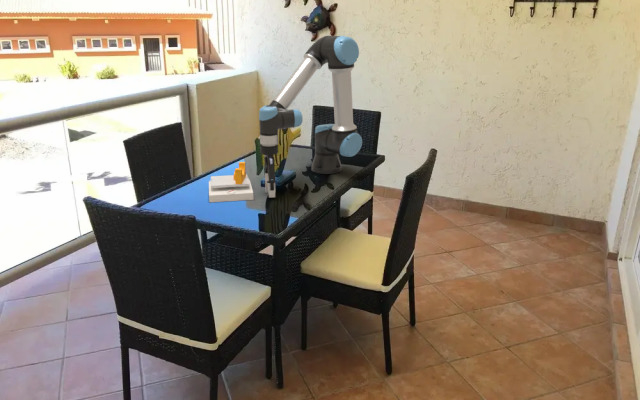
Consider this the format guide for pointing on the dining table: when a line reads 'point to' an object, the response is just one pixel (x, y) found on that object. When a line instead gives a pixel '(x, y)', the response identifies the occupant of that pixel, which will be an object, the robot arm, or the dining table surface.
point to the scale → (229, 189)
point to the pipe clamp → (240, 173)
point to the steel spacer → (266, 187)
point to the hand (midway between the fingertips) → (270, 192)
